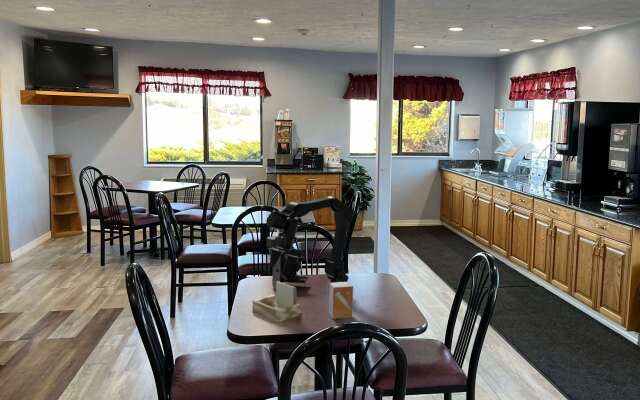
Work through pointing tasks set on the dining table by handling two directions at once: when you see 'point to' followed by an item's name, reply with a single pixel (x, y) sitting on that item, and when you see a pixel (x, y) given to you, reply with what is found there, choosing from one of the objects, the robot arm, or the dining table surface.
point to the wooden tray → (275, 309)
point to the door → (285, 294)
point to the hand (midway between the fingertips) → (278, 269)
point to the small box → (340, 300)
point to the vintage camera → (286, 276)
